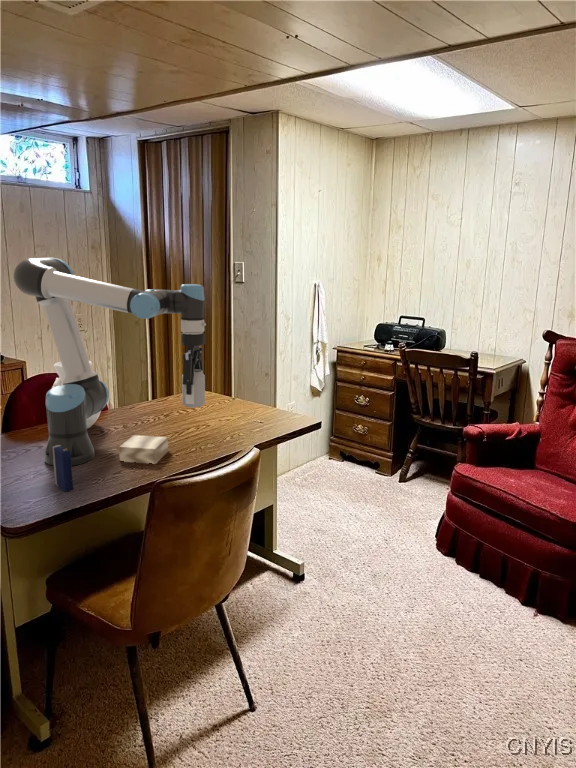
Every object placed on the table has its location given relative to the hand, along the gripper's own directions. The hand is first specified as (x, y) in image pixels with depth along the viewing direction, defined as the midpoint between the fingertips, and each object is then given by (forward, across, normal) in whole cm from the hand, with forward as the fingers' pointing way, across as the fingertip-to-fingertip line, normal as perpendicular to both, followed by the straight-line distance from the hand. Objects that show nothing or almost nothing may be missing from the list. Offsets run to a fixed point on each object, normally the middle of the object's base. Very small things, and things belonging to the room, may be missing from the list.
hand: (193, 400), depth 190 cm
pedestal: (+18, -8, +14) cm, 24 cm away
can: (+2, 0, 0) cm, 2 cm away
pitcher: (+19, +18, +51) cm, 58 cm away
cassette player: (+18, -36, +27) cm, 49 cm away
